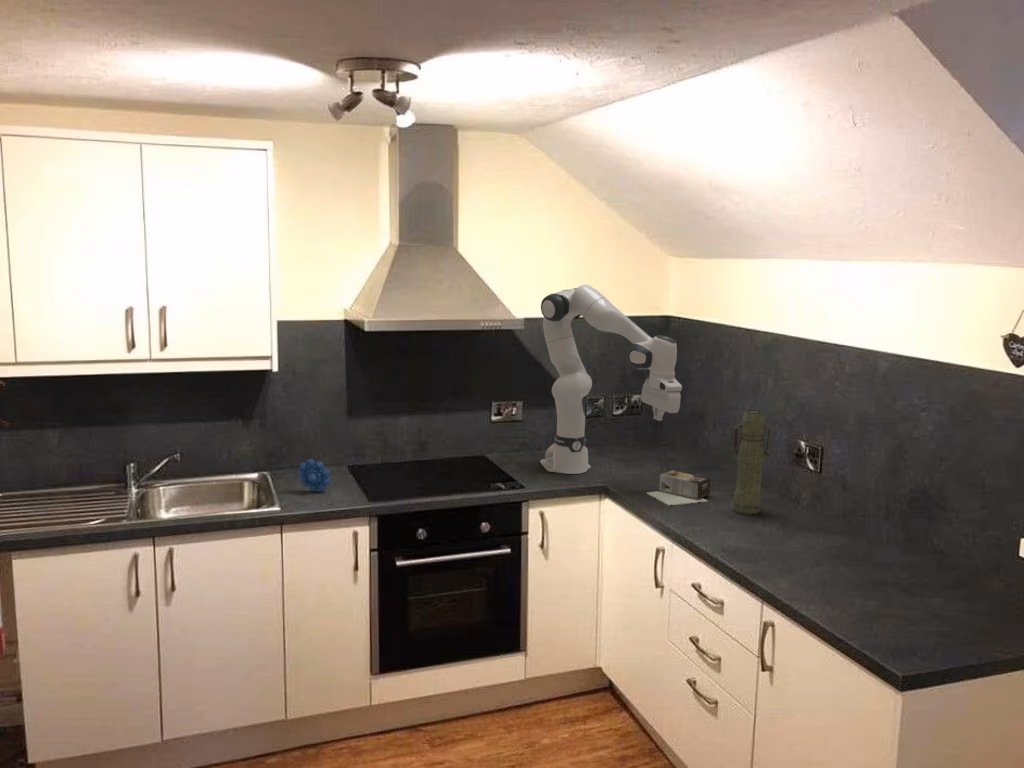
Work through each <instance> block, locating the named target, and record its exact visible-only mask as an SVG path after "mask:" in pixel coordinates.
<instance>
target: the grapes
mask: <svg viewBox="0 0 1024 768" xmlns="http://www.w3.org/2000/svg"><path fill="white" fill-rule="evenodd" d="M324 465H325V464H324V463H323V462H322V461H319V460H317V461H316V462H315V460H314V459H313V458H308V459H307V460H306V462H304V461H302V462H301V463H299V468H300V469H299V470H298V471H297V476H298V478H300V479H301V485H302V486H303V487H305V488H308V487H309V488H308V489H309V490H310V492H313V493H314V492H315V493H316V492H317V491H320V492H325V491H326V489H327V486H329V485H331V479H330V477H329V476H330V475H331V472H330V469H328V468H325V466H324Z"/></svg>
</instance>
